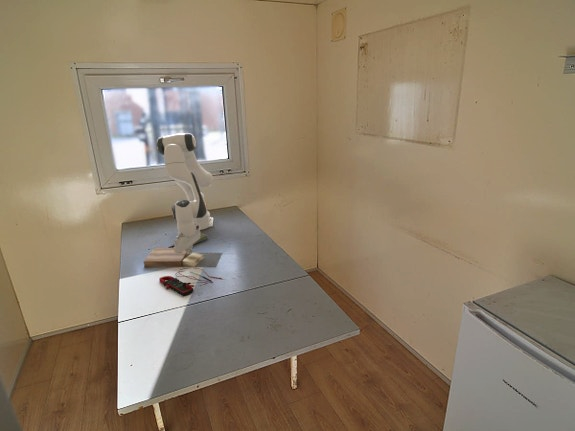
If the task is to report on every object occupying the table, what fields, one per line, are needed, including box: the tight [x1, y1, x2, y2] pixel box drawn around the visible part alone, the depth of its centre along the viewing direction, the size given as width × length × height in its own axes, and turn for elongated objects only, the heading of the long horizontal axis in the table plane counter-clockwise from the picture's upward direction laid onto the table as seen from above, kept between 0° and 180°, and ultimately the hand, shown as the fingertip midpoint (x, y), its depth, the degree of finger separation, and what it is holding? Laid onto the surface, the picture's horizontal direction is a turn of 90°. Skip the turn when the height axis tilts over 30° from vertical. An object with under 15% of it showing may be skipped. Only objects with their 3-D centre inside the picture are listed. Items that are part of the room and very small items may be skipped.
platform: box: [143, 247, 190, 268], centre depth 191 cm, size 16×20×4 cm
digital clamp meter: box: [158, 267, 226, 298], centre depth 170 cm, size 23×4×25 cm
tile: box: [182, 252, 204, 268], centre depth 188 cm, size 10×7×2 cm
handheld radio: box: [167, 232, 209, 248], centre depth 209 cm, size 7×3×25 cm
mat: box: [181, 252, 222, 268], centre depth 191 cm, size 16×18×1 cm
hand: (189, 252), depth 190 cm, fingers closed
